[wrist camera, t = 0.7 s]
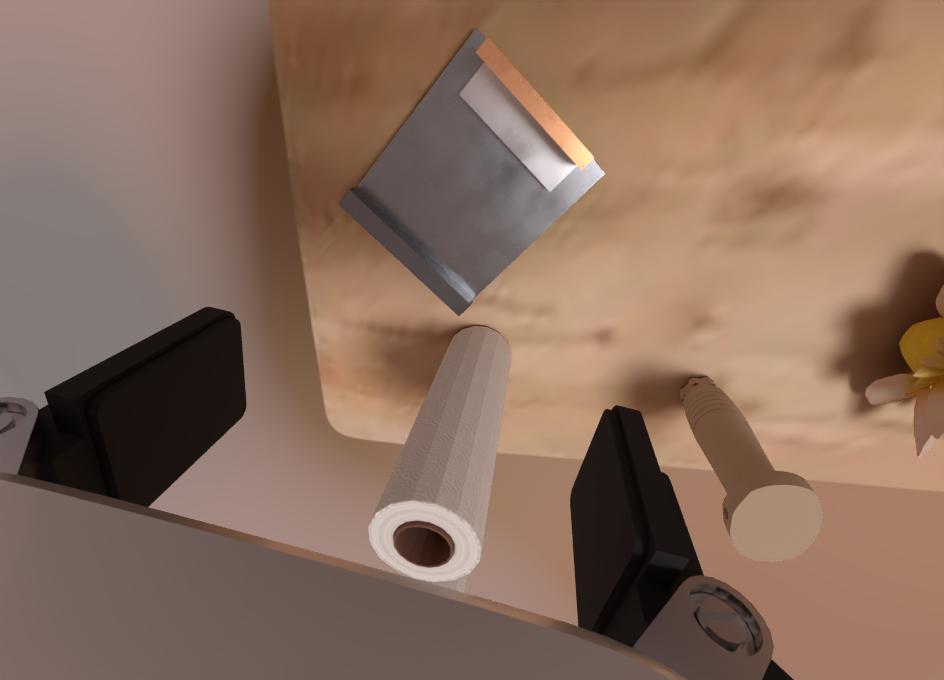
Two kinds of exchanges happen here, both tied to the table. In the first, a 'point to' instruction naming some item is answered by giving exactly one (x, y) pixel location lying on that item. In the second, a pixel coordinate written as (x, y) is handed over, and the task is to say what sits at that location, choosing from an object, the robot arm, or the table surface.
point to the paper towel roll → (447, 466)
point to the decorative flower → (919, 379)
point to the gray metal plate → (457, 192)
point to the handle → (751, 480)
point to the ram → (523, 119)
